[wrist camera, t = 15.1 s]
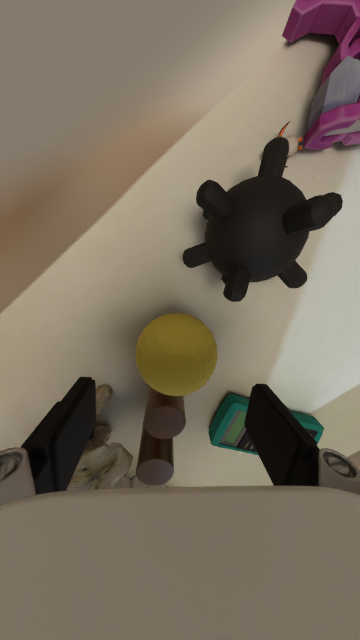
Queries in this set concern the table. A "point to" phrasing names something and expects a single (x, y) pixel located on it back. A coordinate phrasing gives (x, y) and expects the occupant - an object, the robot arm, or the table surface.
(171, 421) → the peg mid
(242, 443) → the digital multimeter
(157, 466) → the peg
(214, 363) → the yellow light bulb
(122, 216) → the table surface
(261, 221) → the toy ball
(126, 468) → the figurine
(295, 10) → the toy gun
